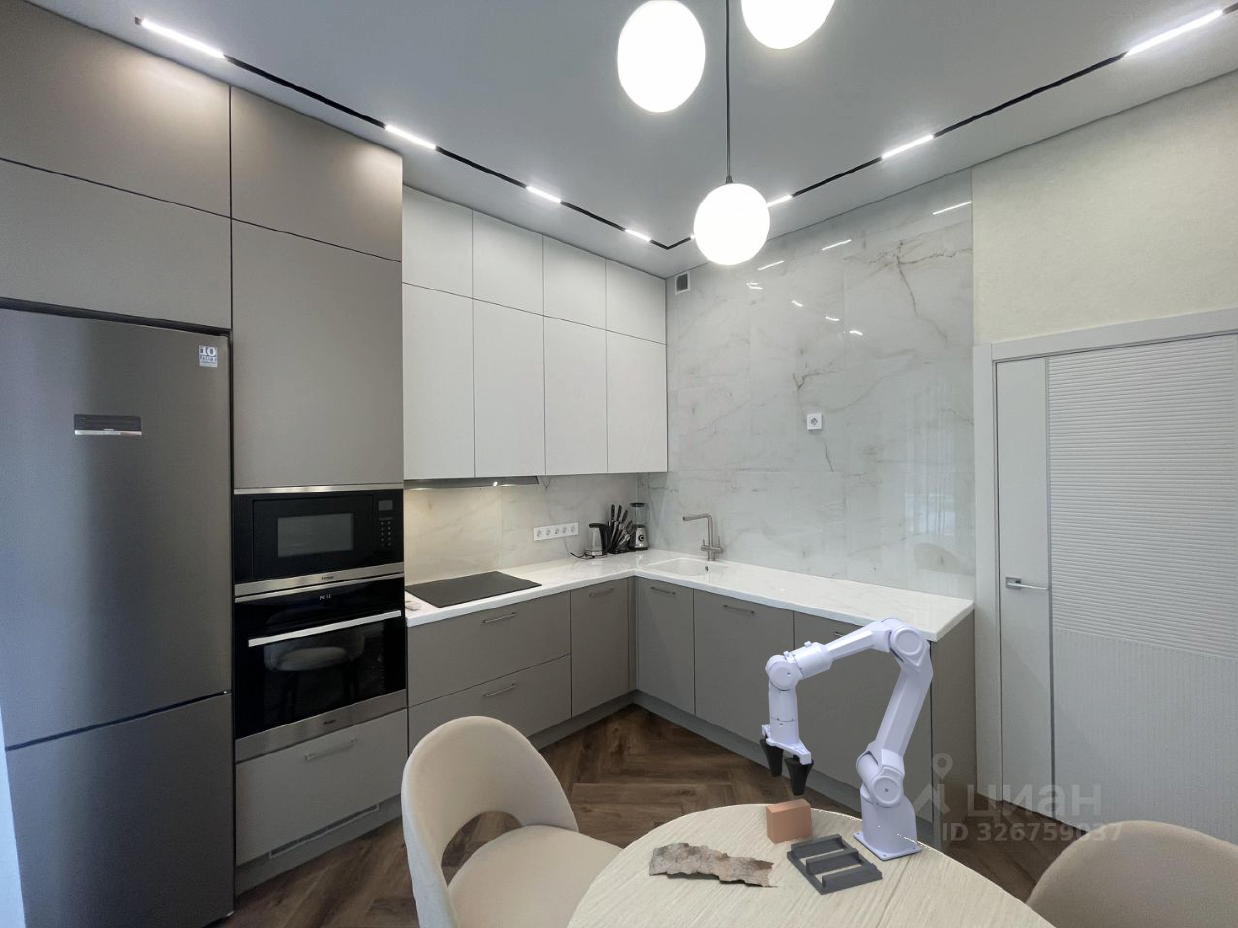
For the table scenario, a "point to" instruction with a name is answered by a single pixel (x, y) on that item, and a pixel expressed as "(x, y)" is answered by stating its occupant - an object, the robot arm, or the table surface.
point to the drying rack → (832, 864)
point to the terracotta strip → (788, 821)
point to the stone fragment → (709, 863)
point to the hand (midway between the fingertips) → (787, 784)
